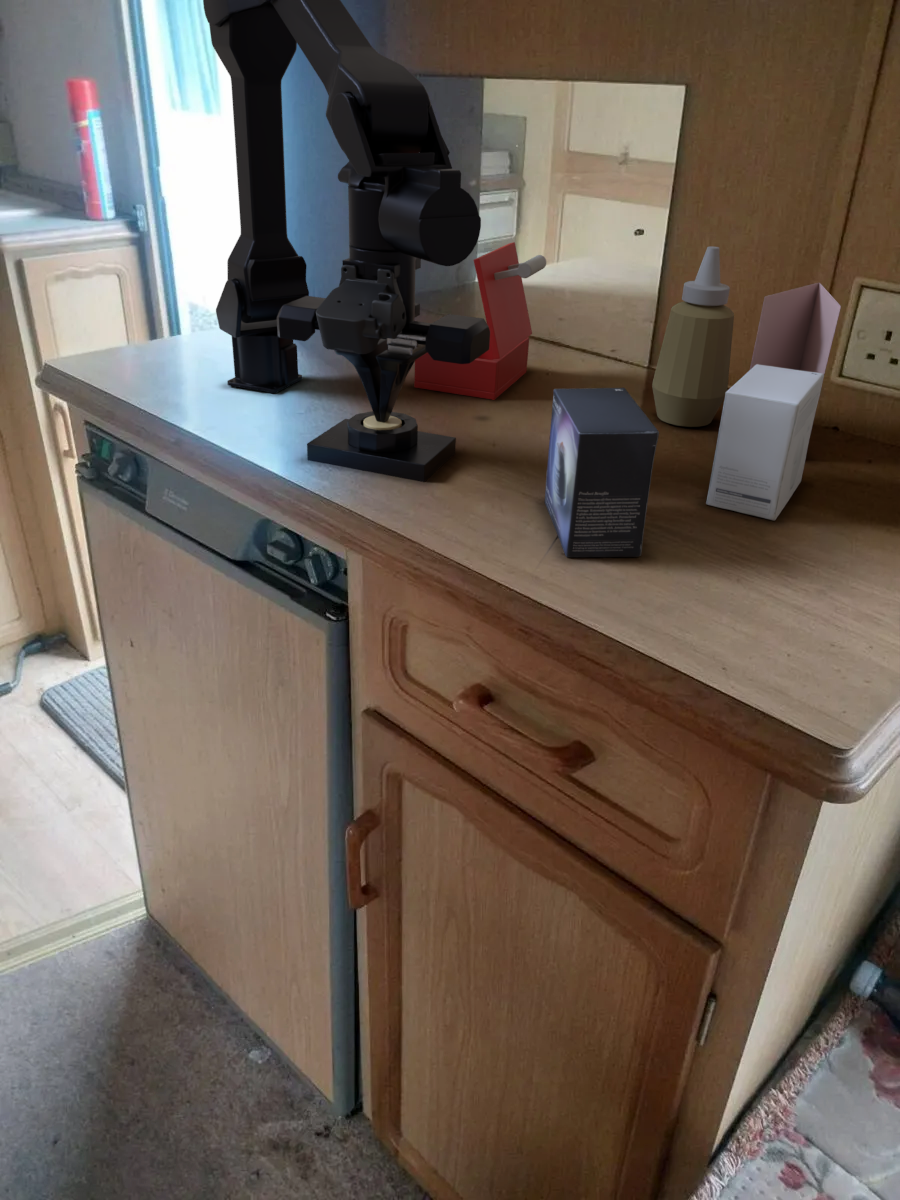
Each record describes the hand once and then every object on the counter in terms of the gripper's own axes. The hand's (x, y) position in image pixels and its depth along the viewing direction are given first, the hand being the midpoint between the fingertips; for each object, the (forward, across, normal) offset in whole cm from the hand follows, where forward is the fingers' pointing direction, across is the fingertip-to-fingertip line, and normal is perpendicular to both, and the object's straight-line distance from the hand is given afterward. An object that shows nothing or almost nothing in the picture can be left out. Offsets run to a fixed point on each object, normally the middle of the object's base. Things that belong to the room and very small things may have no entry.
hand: (382, 420), depth 86 cm
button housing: (+4, 0, 0) cm, 4 cm away
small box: (+4, +22, -7) cm, 23 cm away
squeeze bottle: (+4, +25, +25) cm, 36 cm away
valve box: (+4, -1, +28) cm, 28 cm away
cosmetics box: (+4, +34, +7) cm, 35 cm away
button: (+2, 0, 0) cm, 2 cm away
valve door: (-6, +2, +28) cm, 29 cm away
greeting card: (+4, +36, +23) cm, 43 cm away
